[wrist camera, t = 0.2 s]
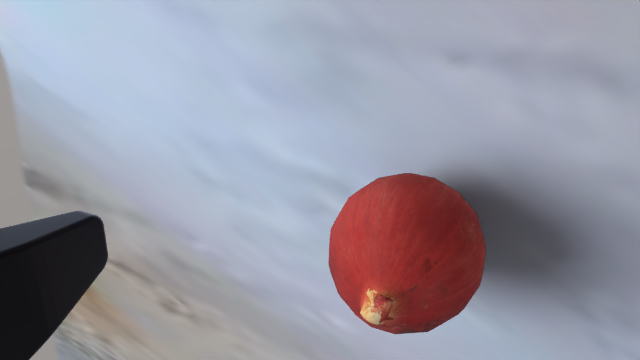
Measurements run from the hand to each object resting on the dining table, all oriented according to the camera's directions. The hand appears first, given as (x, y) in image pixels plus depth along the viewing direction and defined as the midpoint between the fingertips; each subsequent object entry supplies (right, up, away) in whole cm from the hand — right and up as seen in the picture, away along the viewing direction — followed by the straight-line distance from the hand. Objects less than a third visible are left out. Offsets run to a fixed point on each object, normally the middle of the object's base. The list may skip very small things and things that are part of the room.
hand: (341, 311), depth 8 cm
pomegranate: (+4, +1, +15) cm, 16 cm away
